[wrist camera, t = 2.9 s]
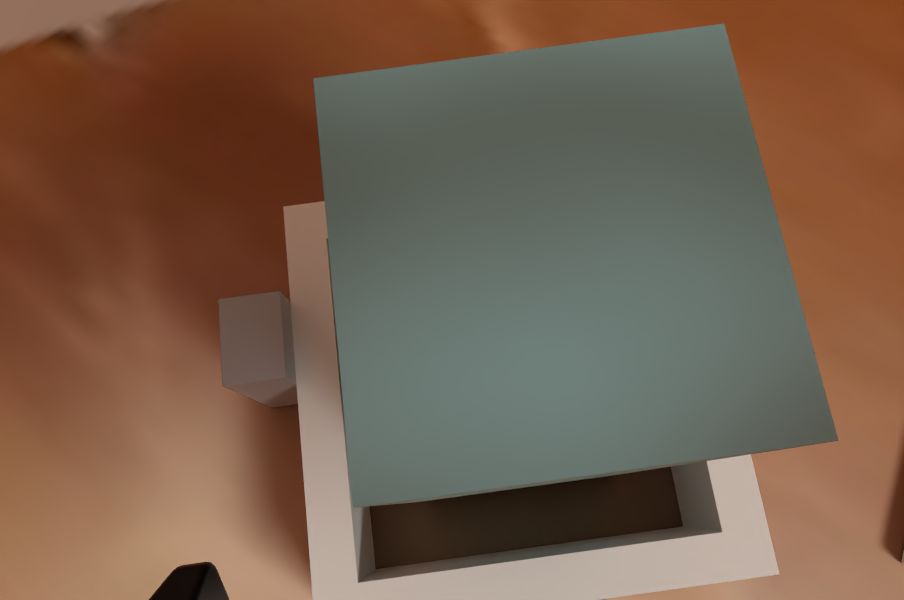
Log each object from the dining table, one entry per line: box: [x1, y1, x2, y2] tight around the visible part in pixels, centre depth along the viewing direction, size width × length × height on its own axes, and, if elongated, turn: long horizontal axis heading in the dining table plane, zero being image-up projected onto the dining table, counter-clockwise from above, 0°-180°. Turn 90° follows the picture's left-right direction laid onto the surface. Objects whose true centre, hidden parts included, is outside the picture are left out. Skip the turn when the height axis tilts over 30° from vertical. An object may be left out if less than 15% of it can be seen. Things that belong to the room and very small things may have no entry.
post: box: [313, 24, 838, 508], centre depth 14 cm, size 5×5×12 cm
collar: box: [218, 201, 779, 600], centre depth 18 cm, size 10×11×4 cm
